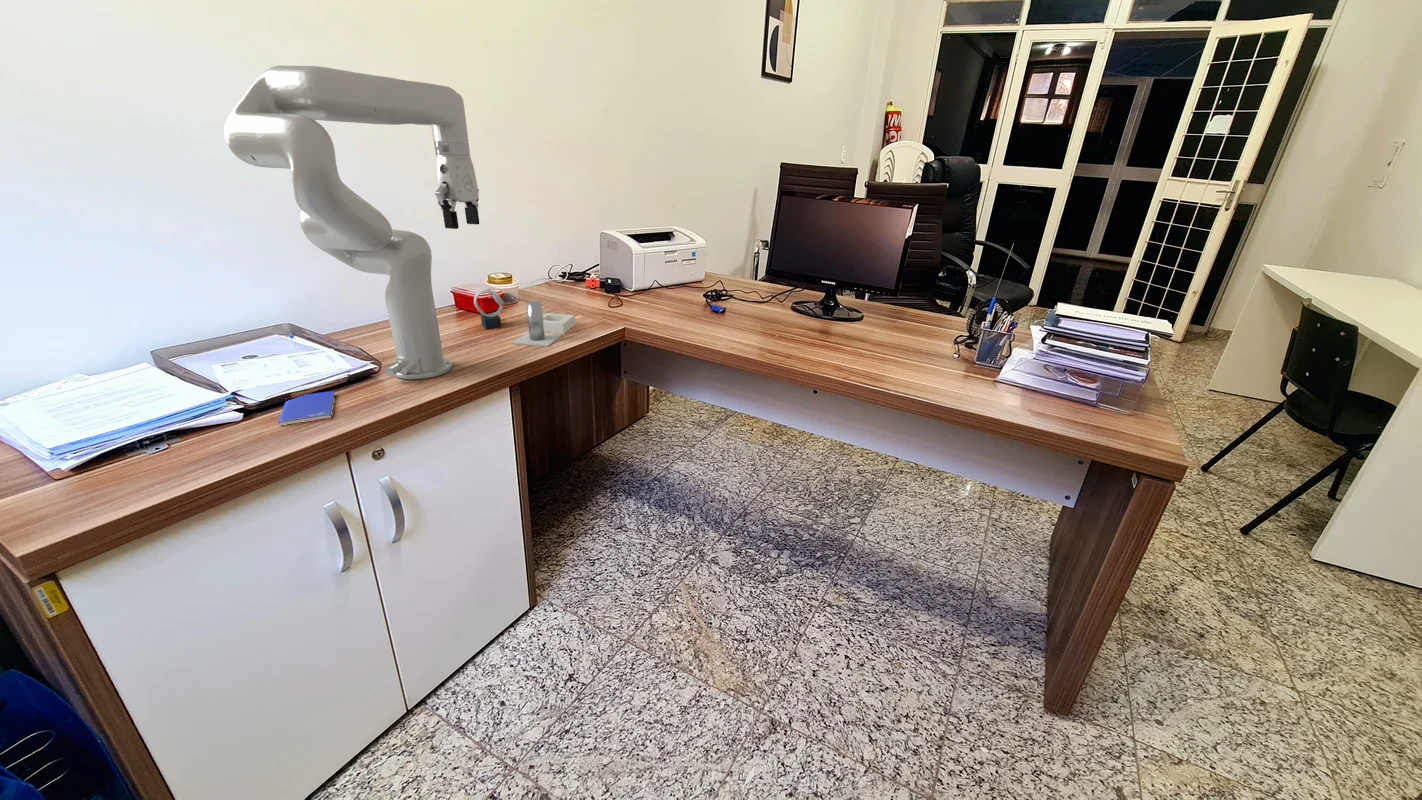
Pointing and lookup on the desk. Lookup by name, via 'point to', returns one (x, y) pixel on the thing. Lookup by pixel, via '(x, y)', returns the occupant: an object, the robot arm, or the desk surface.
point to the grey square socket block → (558, 322)
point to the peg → (535, 320)
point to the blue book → (307, 408)
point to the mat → (545, 343)
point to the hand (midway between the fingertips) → (462, 226)
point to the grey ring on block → (491, 319)
